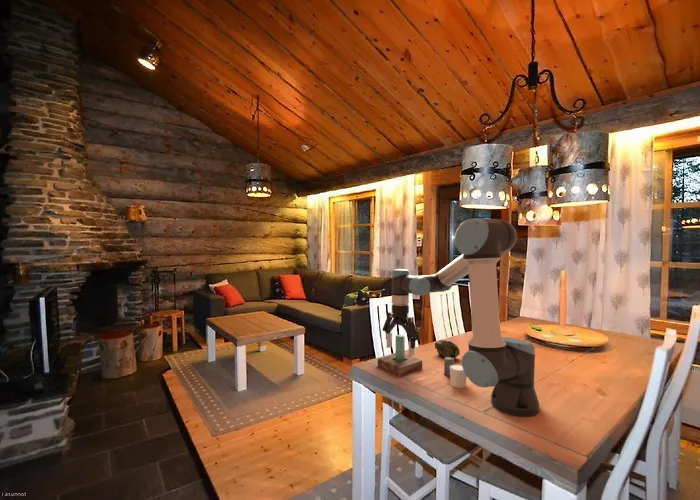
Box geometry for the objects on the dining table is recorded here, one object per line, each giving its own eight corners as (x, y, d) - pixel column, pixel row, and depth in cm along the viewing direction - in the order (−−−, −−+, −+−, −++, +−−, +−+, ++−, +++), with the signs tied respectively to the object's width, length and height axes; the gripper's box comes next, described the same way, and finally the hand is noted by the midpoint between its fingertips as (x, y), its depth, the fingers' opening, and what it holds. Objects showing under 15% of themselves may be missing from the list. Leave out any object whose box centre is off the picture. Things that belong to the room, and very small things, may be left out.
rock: (463, 340, 167) (454, 340, 162) (464, 360, 165) (455, 360, 160) (442, 340, 176) (432, 339, 171) (442, 358, 174) (433, 359, 169)
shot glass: (459, 390, 132) (459, 372, 132) (445, 383, 138) (445, 366, 138) (471, 385, 136) (471, 368, 136) (457, 379, 142) (457, 362, 141)
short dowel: (455, 375, 146) (456, 359, 146) (450, 377, 144) (450, 361, 143) (448, 372, 149) (448, 356, 149) (442, 374, 147) (442, 358, 146)
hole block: (422, 368, 154) (422, 360, 154) (400, 376, 145) (400, 367, 145) (399, 359, 165) (399, 352, 165) (377, 366, 156) (377, 358, 156)
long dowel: (406, 367, 155) (406, 336, 154) (400, 369, 152) (400, 338, 152) (399, 364, 158) (400, 334, 157) (393, 366, 156) (393, 336, 155)
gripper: (427, 307, 146) (427, 357, 147) (386, 298, 166) (386, 342, 167) (415, 309, 142) (415, 360, 143) (375, 300, 162) (374, 345, 162)
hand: (399, 351), depth 155 cm, fingers open, 13 cm apart
